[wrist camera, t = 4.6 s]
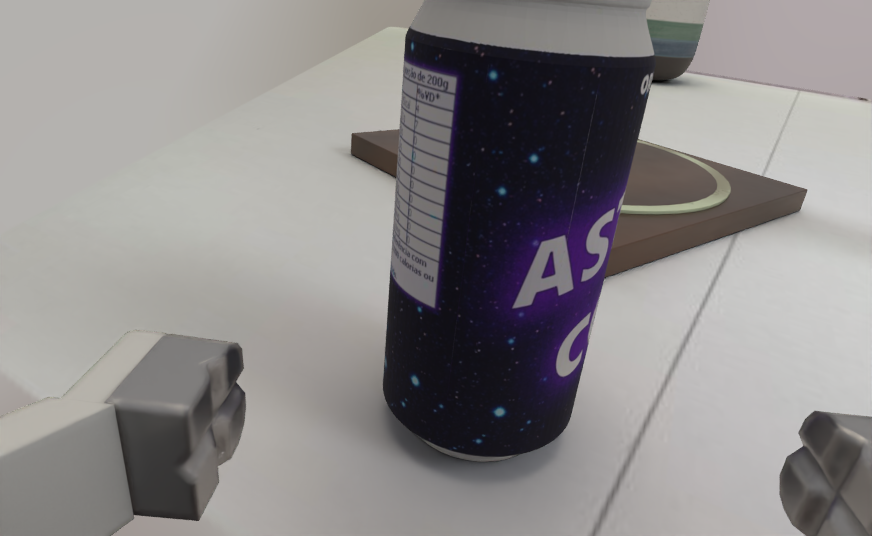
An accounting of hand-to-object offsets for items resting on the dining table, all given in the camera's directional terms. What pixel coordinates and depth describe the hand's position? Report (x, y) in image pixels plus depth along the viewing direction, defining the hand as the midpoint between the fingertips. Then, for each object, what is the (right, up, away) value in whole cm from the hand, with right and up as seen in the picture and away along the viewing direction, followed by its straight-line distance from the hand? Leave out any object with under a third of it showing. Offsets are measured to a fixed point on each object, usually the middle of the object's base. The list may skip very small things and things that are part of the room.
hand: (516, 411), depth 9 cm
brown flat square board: (+8, +8, +33) cm, 35 cm away
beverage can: (0, -3, +10) cm, 10 cm away
